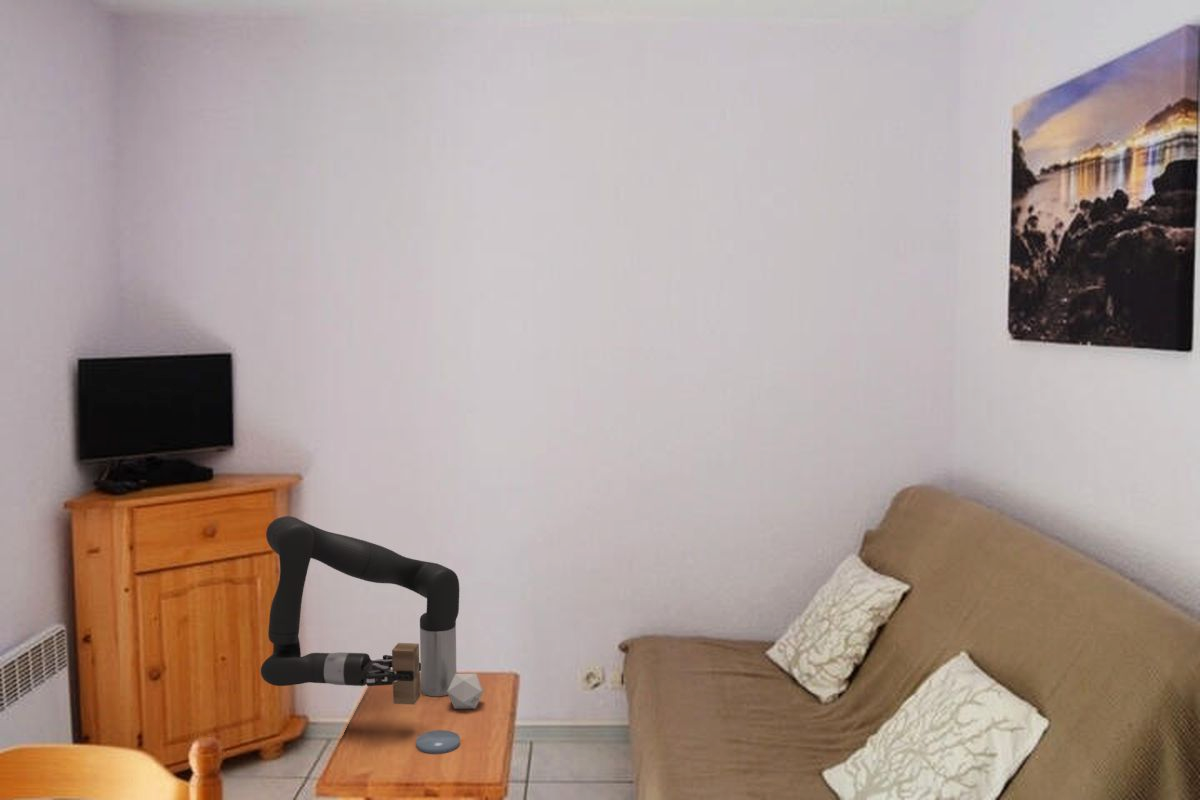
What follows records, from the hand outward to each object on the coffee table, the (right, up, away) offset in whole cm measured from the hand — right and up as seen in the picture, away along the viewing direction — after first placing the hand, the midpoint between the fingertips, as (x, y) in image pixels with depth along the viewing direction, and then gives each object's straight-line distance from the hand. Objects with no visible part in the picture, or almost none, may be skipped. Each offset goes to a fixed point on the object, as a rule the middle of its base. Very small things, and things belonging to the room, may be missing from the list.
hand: (416, 671), depth 257 cm
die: (+9, -13, +18) cm, 24 cm away
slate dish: (+6, -16, -5) cm, 17 cm away
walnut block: (-3, -7, +1) cm, 7 cm away
